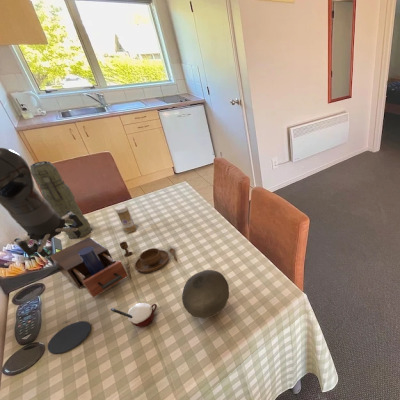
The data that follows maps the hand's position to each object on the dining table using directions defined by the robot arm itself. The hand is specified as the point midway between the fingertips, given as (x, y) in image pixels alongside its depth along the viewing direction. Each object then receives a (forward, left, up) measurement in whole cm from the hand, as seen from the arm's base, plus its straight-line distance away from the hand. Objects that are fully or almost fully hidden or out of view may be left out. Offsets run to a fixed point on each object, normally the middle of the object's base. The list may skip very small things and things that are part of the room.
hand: (62, 245), depth 83 cm
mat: (-12, -14, -21) cm, 28 cm away
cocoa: (+2, -28, -22) cm, 35 cm away
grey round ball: (+16, -43, -22) cm, 51 cm away
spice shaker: (+4, +2, -19) cm, 20 cm away
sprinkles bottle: (+26, +25, -22) cm, 42 cm away
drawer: (+4, 0, -20) cm, 21 cm away
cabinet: (+4, +13, -21) cm, 25 cm away
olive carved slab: (+13, +44, -22) cm, 51 cm away
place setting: (+20, -1, -22) cm, 30 cm away
